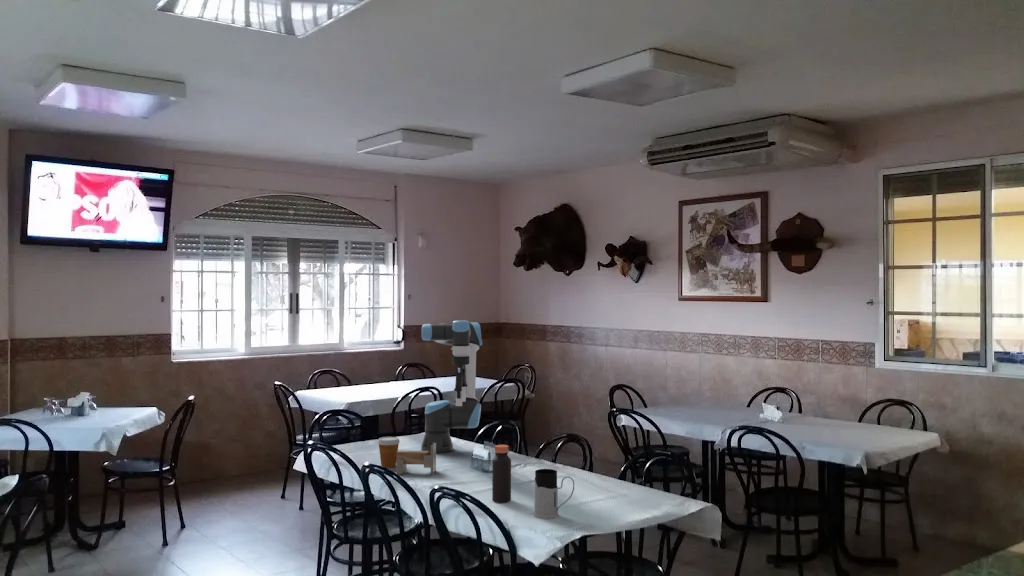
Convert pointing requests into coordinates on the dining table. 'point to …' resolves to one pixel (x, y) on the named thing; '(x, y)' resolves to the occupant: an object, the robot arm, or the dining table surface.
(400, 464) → the saddle
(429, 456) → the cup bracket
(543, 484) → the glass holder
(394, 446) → the disposable coffee cup
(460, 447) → the dining table surface
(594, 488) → the dining table surface
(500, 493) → the bottle
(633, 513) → the dining table surface
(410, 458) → the rail
